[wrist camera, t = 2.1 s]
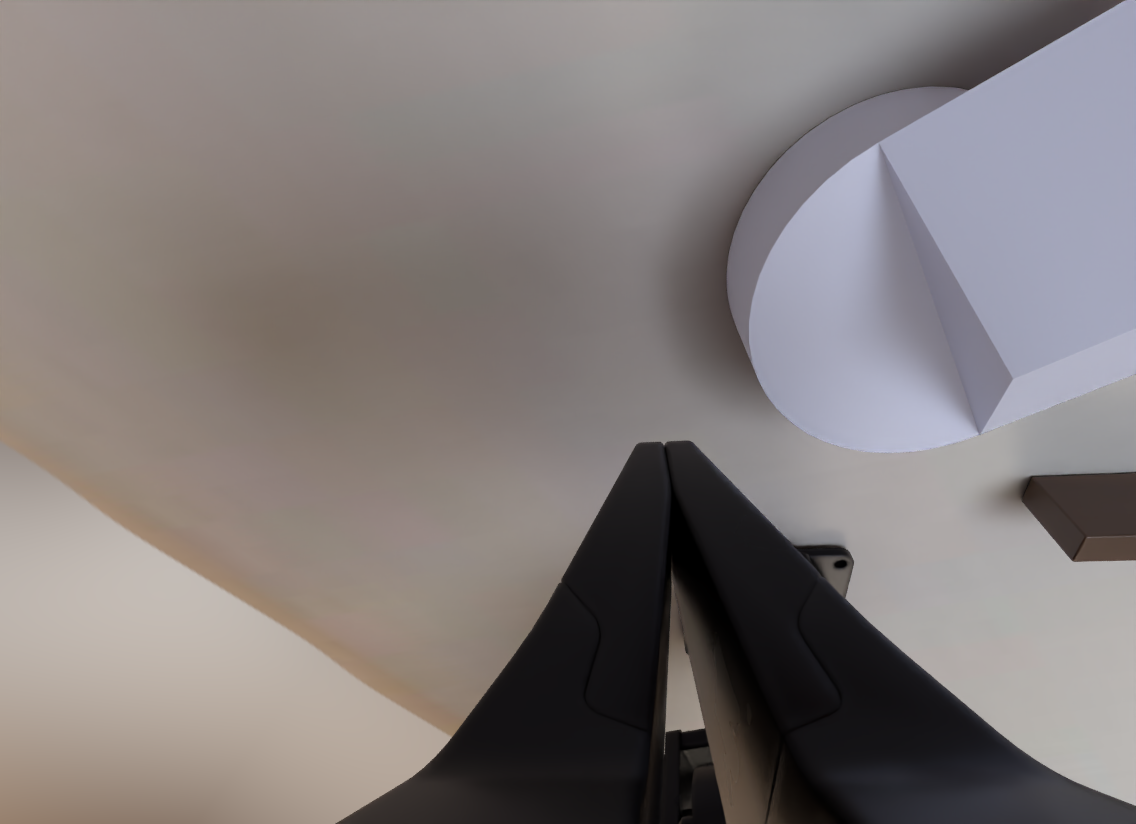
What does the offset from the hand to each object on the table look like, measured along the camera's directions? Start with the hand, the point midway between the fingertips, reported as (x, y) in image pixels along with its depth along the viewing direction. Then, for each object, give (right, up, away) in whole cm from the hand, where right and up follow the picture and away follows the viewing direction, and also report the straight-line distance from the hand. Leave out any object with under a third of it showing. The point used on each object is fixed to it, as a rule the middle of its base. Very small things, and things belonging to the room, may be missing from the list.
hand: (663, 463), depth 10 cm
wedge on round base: (+9, +6, +8) cm, 14 cm away
